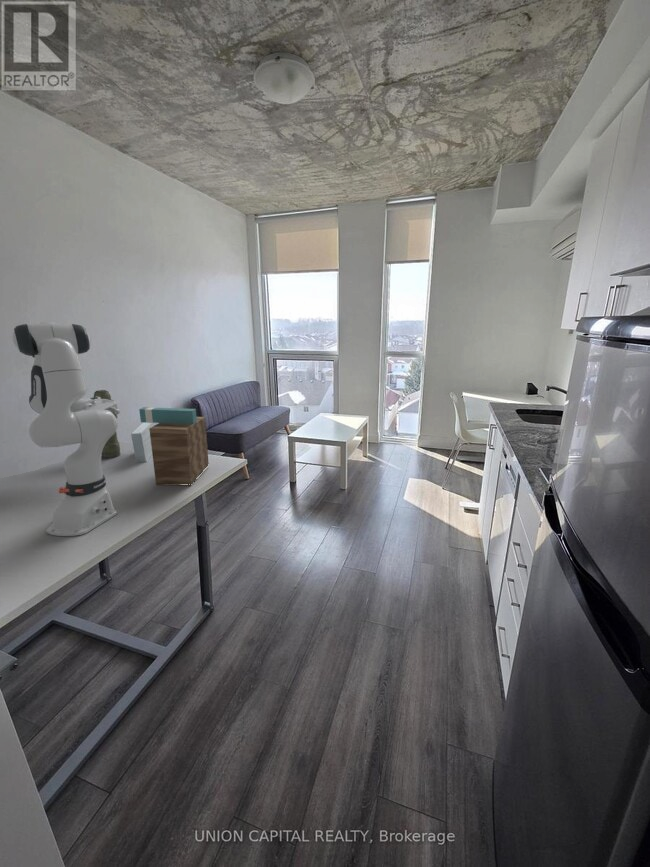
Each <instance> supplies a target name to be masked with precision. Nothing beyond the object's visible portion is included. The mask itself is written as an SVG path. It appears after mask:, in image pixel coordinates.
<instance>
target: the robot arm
mask: <svg viewBox="0 0 650 867" xmlns="http://www.w3.org/2000/svg"><path fill="white" fill-rule="evenodd" d="M86 329H87V328H85V327H84V326H83V325H80V324H75V323H73V324H68V323H67V324H65V323H57V322H54V321H43V322H40V323H32V324H27V323H23V324H18V325H16V326H15V328H13V333H12V340H13V341H12V342H13V344H14V345H15V347H16V349H17V350H18V351H19V353H21V354H23V355H25V356H28V357H32V358H34V361H33V363H32V364H33V365H32V367H31V370H30V396H28V403H29V407H30V408H31V409H32V410H33V411H35V412H36V413H38V414H39V415H38V416H37V417H36V418H35V419H34V420H33V421H32V422H30V425H29V429H28V434H29V437H30V439H31V441H32V442H33V443H34V444H35V445H36V446H38V447H40V448H59V447H65V446H70V445H76V444H79V446H78V448H77V449H76V450H74V451H73V452H72V453H70V454H68V456H67V457H66V458H65V459H64V461H63V468H64V473H65V477H66V482H65V487H59V488H58V493H59V494H64V496H63V498H62V499H61V501H60V503H59V504H58V506H57V507H56V509H55V511H54V512H53V516H52V517H53V520H52V521H53V522H52V524H51V525H49V527H47V529H46V534H48V535H50V536H57V537H58V536H59V537H77V536H81V535H85V534H87V533H90V531H92V530H94V529H96V528H97V527H99V526H100V525H101V524H103V523H105V522H106V521H108V520H110V519H112V518H113V517H114V516H116V515H117V514H118V511H117V510H116V509H115V508H114V504H113V501H112V498H111V495H110V493H109V491H108V489H107V487H106V486H107V480H106V479H107V478H106V477H105V475H104V473H103V472H104V471H103V466H102V465H103V463H102V450H103V448H104V446H105V444H106V442H107V441H108V439H109V438H110V437H111V436H112V435H114V434H115V432H116V433H117V429H118V424H119V423H118V418H117V419H116V417H115V415H114V414H117V415H119V414H121V412H120V409H118V403H117V402H116V401H115V400H114V401H111V400H112V399H111V400H108V399H101V398H100V397H94V396H92V397H89V398H84V397H85V395H86V393H87V386H86V382H85V378H84V373H83V368H82V365H81V362H80V358H79V356H78V355H81V354H85V353H88V352H89V350H90V349H91V348H90V347H91V342H92V341H91V337H90V334H89V333H88V331H87V330H86ZM112 412H114V414H113V413H112Z"/></svg>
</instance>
